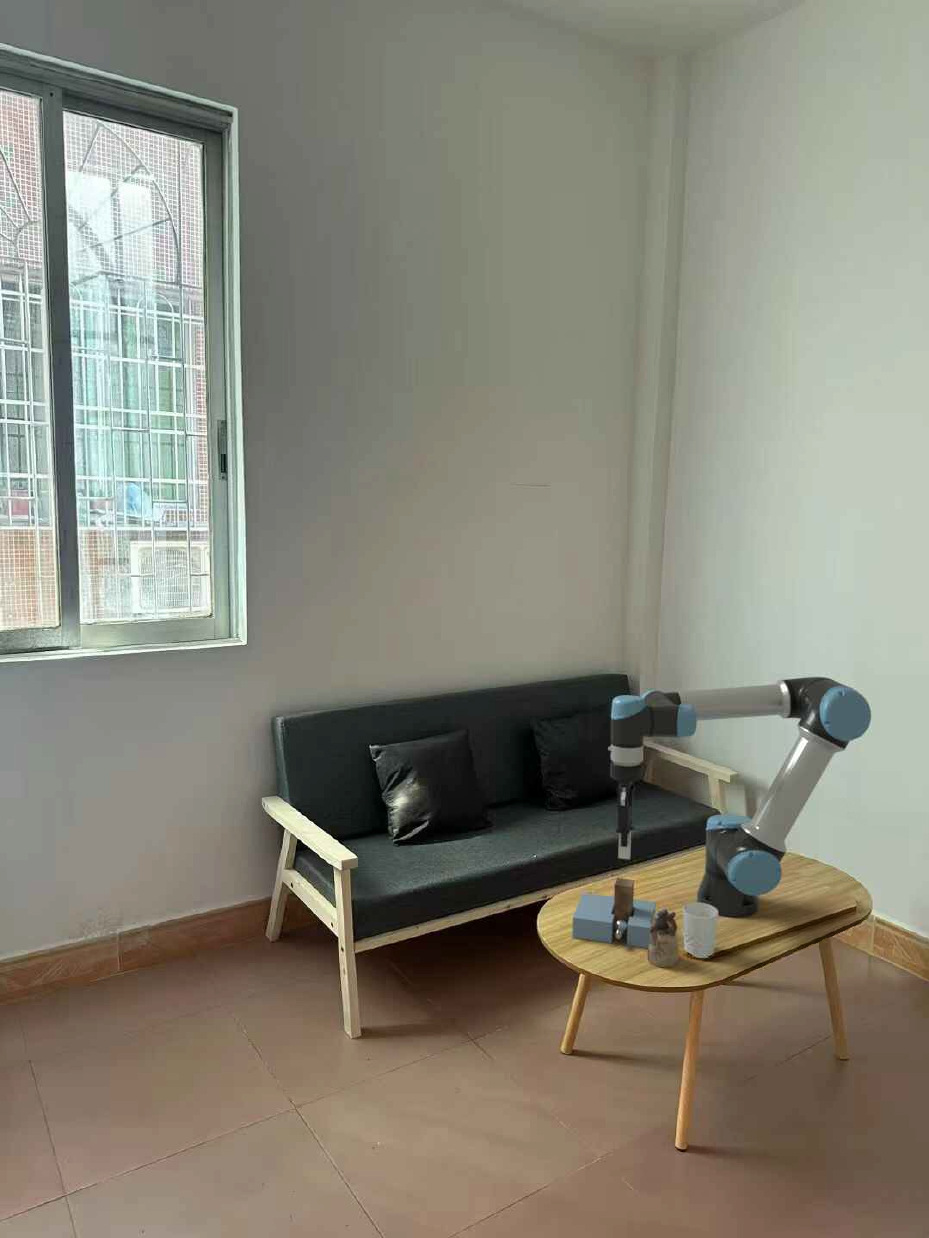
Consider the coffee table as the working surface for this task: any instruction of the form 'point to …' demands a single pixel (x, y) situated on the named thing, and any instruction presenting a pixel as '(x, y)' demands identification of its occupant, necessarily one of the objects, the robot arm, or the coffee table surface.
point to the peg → (623, 900)
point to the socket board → (611, 920)
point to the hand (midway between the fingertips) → (624, 857)
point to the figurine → (663, 940)
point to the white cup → (699, 929)
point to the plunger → (620, 928)
